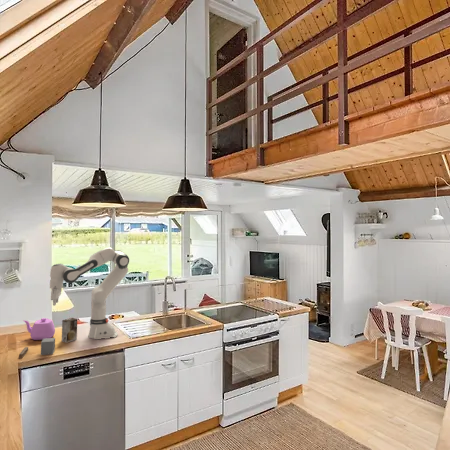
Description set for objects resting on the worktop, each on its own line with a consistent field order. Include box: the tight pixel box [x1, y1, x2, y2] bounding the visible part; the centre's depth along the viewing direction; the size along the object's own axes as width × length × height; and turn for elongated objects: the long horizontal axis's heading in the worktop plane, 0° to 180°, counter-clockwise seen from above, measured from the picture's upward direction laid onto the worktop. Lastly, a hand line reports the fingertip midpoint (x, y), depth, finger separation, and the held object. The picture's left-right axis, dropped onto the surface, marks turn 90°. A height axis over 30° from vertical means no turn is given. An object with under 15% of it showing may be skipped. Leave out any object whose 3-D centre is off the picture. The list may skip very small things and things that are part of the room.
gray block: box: [40, 337, 56, 356], centre depth 239 cm, size 7×7×9 cm
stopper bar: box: [18, 346, 29, 359], centre depth 235 cm, size 2×14×2 cm, turn 17°
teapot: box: [22, 317, 56, 341], centre depth 271 cm, size 23×21×15 cm
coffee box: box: [61, 317, 78, 343], centre depth 266 cm, size 9×6×16 cm
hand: (55, 303), depth 259 cm, fingers open, 8 cm apart
